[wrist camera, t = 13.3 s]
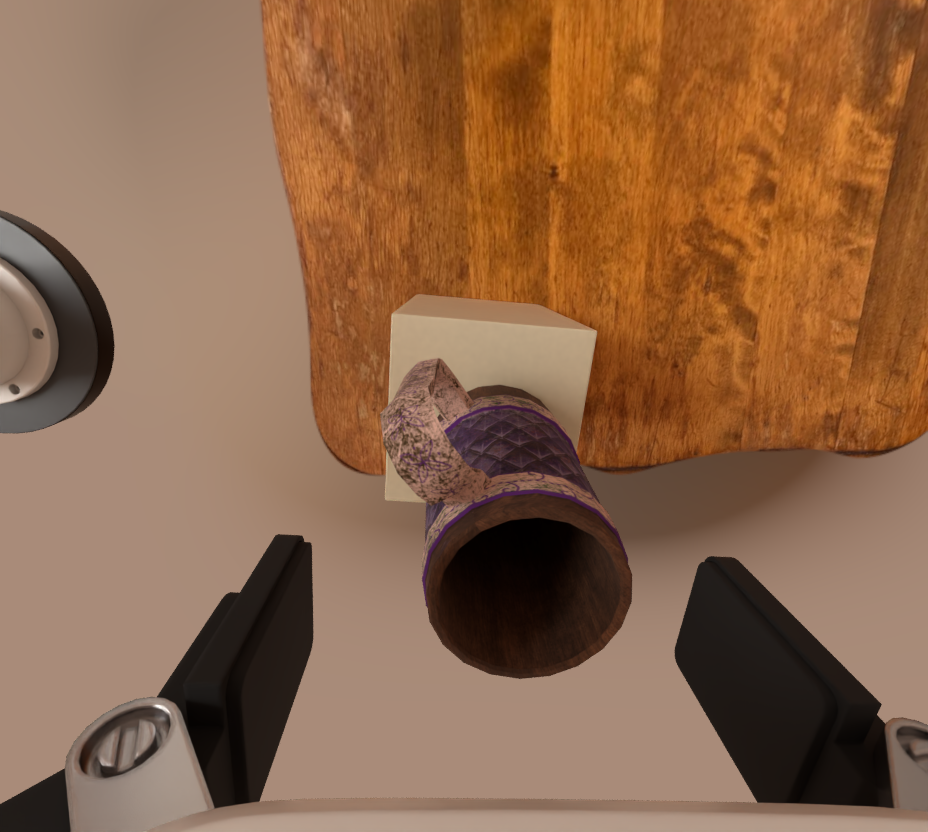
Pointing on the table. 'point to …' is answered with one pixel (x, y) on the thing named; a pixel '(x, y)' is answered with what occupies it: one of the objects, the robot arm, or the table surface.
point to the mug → (506, 526)
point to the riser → (493, 356)
